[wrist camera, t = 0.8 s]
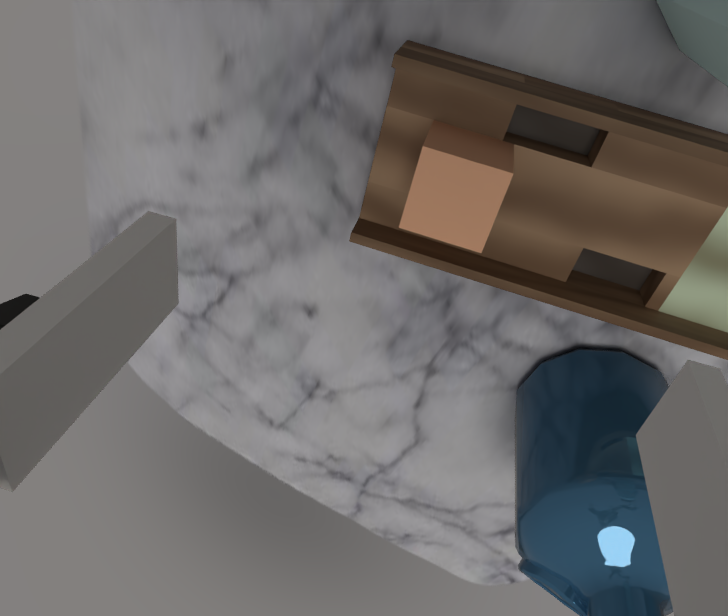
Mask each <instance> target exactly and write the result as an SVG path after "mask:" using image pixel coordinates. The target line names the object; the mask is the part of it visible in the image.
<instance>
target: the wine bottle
mask: <svg viewBox="0 0 728 616" xmlns="http://www.w3.org/2000/svg"><path fill="white" fill-rule="evenodd" d="M668 388H669V387H668V385H667V383H666V381H665V379H664V377H663V375H662V374H661V373H660V372H659V371H658V370H656V369H655V368H653V367H651V366H649V365H647V364H645V363H644V362H642V361H640V360H638V359H636V358H634V357H632V356H630V355H628V354H627V353H625V352H623V351H618V350H601V349H583V348H579V349H576V350H573V351H570V352H568V353H565V354H562V355H559V356H556V357H554V358H551V359H548V360H545V361H543V362H542V363H541V364H540V365H539V366H538V367H537V368H536V369H535V370H534V371H533V373H532V374H531V375H530V376H529V377H528V378H527V379H526V380H525V381H524V382H523V384H522V385H521V386H520V387H519V388H518V390H517V397H516V411H515V547H516V549H517V551H518V553H519V555H520V556H521V557H522V559H521V561H520V563H519V565H518V569H519V570H520V571H521V572H522V573H524V574H525V575H526V576H528V577H529V578H530V579H531V580H533V581H534V582H535V583H536V584H538V585H539V586H541V587H542V588H544V589H545V590H546V591H547V592H549V593H550V594H551V595H553V596H554V597H555V598H557V599H558V600H559V601H560V602H562V603H563V604H564V605H566V606H567V607H568V608H570V609H571V610H573V611H574V612H576V613H577V614H579V615H580V616H666V615H669V614H671V613H672V612H673V607H672V603H671V598H670V593H669V589H668V584H667V579H666V575H665V570H664V565H663V561H662V556H661V551H660V547H659V542H658V537H657V533H656V528H655V523H654V519H653V514H652V509H651V505H650V500H649V495H648V491H647V486H646V481H645V476H644V472H643V467H642V462H641V458H640V453H639V448H638V444H637V439H636V434H637V432H638V431H639V430H640V428H641V427H642V425H643V424H644V422H645V421H646V419H647V418H648V417H649V415H650V414H651V412H652V411H653V409H654V408H655V406H656V405H657V404H658V402H659V401H660V399H661V398H662V396H663V395H664V394H665V392H666V391H667V389H668Z"/></svg>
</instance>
